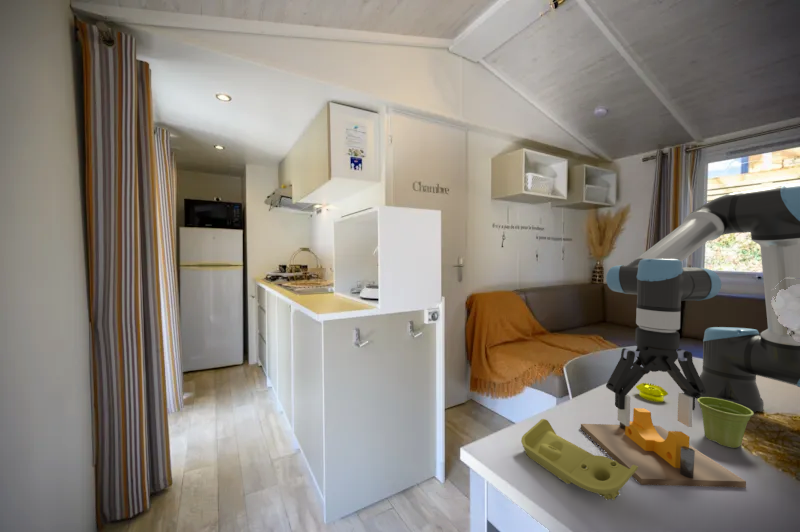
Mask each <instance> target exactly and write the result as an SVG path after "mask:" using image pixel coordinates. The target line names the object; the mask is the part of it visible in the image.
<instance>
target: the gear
mask: <svg viewBox="0 0 800 532" xmlns="http://www.w3.org/2000/svg"><path fill="white" fill-rule="evenodd" d="M635 388H636V389H637V390H638V391H639V394H638V396H639V397H640V398H643V399H645V400H647V401H649V402H650V401H651V402H656V403H663V402H664V401H665V397H666V396H667V395H669V393H668V391H667V390H665V389H664V388H663V387H661V386H660V385H657V384H652V383H649V382H648V383H647V382H641V383H639V384H636V385H635Z"/></svg>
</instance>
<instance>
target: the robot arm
mask: <svg viewBox="0 0 800 532" xmlns="http://www.w3.org/2000/svg"><path fill="white" fill-rule="evenodd" d="M736 233H743V234H744V233H745V234H746V233H750V238H751V239H750V240H751V241H752V242H754V243H756V244H758V245H759V247H760V256H761V269H762V277H763V278H762V279H763V286H764V287H763V290H764V297H765V298H764V300H765V310H766V318H767V319H766V321H767V328H766V329H765V330H762V331H761V332H759V330H758V329H754V328H746V327H729V326H728V327H726V326H719V327H718V326H713V327H707V328H706V329H705V330H704V335H703V339H702V342H703V346H702V371H701V373H700V374H699V373H698V371H697V368H696V366H695V364H694V361H693V354H692V352H691V351H688V350H685V349H681V348H680V336H681V335H680V333H679V332H678V330H680V329H681V306H682V304H681V302H683V301H696V302H697V301H698V302H699V301H703V300H709V299H712V298H714V297H715V296H717V295H718V294H719V293H720V291H721V289H722V280H721V277H720V276H719V275H718V274H717V273H716V272H715V271H714V270H711V269H708V268H705V267H699V266H698V267H697V266H696V267H694V266H692V267H691V266H690V267H683V263H682V262H683V261H684V260H686V259H687V258H688V257H689V256H691V255H692V254H693V253H694V252H696V251H697V250H698V249H699V248H701V247H703V245H704V244H706V243H707V242H710V241H714V240H717V239H718V238H720V237H722V236H724V235H729V234H736ZM789 276H790V277H796V278H800V182H797V183H786V184H781V185H773V186H769V187H768V186H767V187H764V188H763V187H761V188H756V189H749V190H743V191H741V190H740V191H735V192H731V193H727V194H724V195H722V196H719V197H717V198H714V199H712V200H710V201H708V202H706V203H704V204H703V205H701V206H699V207H698V208H696V209H695V210H693V211H691V212H690V213H689V214H688V215H686V216H685V217H684V219H683V221H682V223H681V224H680V225H679V226H677V227H676V228H675V229H674V230H672V231H671V232H670V233H668V234H667V235H666V236H664V237H663V238H662V239H660V240H659V241H658V242H656V243H655V244H654V245H653V246H651V247H650V248H649V249H647V250H646V251H644V252H643V253H642V254H640V255H639V256H638V257H637V258H636V259H634V260H633V261H631V262H630V263H629V264H626V265H623V264H620V265H614V266H611V267H610V269H608V271H607V272H606V276H605V278H606V279H605V283H606V284H607V285H606V286H607V287H608V288H609V290H611V291H612V292H616V293H622V294H625V295H636V297H637V298H636V312H635V313H636V318H635V324H636V325H637V327H635V340H634V341H635V343H636V349H635V350H630V349H628V348H625V347H624V348H622V349H621V353H620V354H621V355H620V358H619V360H618V362H617V364H616V366H615V367H614V370H613V372H612V374H611V375H610V377H609V379H608V381H607V382H606V385H605V387H606V388H607V389H608V390H610V391H611V392H613V393H614V395H615V396H614V406H615V407H616V408H617V420H618V421H619V423H620V422H621V423H622V424H624V425H625V426H630V421H631V420H630V419H631V396H630V395H628V393H629V392H630V391H632V390H633V389H634V388H635V387H636V386H637V385H638V383H639V381H640V380H642V378H643V377H644V376H645V375H648V374H650V372H653V373H656V372H661V373H662V372H663V373H664V372H665V373H667V374H668V375H669V376H670V377H671V378H672V380H673V382H675V383H676V384H677V386H678V388H680V389H681V390H682V391H681V392H680V391H678V395H677V400H678V401H677V422H679V423H681V424H683V425H684V426H686V427H688V428H692V427H693V411H695V409H696V399H698V398H700V397H711V398H718V399H723V400H727V401H731V402H734V403H737V404H740V405H742V406H745V407H747V408H749V409H750V410H752V411H753V413H756V411H760V412H763V410H764V405H765V404H764V399H762V397H761V394H760V389H759V387H758V385H757V377H761V378H762V377H763V378H766V379H769V380H774V381H777V382H781V383H785V384H789V385H792V386H797V387H799V388H800V343H798V342H796V341H794V340H793V338H792V337H791V336H790V335H787V334H786V333H787V328H786V327H784V326H782V325H781V324H780V323H779V322H778V320H777V316H776V315H775V313H774V311H773V309H772V306H771V303H770V302H771V299H772V297H773V295H774V297H775V298H774V297H773V298H774V300H775V299H776V296H777V293H778V292H779V290H781V289H784V290H786V289H788V287H790V286H792V285H796V284H800V279H796V278H795V279H796V280H795V279H784V278H785V277H789ZM783 279H784V280H783ZM781 280H782V281H781ZM780 281H781V282H780ZM778 283H779V284H778ZM777 284H778V285H777ZM776 285H777V286H776ZM775 286H776V287H775ZM773 287H775V288H776V289H775V288H774V290H772V291H770V289H772V288H773ZM775 302H776V300H775ZM779 316H780V315H779ZM789 334H790V333H789ZM791 334H793V332H791ZM676 361H678V364H679V366H680V368H681V369H680V368H679V367H678V366H677V364H676V363H675V362H676ZM681 370H682V372H683V373H682V372H681Z"/></svg>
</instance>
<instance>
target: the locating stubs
mask: <svg viewBox="0 0 800 532" xmlns="http://www.w3.org/2000/svg"><path fill="white" fill-rule="evenodd" d="M619 425H620V426H619V427H620V428H621V429H624V430H625V425H624V424H622V423H621V422H620V421H619ZM694 458H695V451H694V450H693V449H691V448H689V447H685V446H682V447H681V456H680V474H681V475H683V476H685V477H688V478H693V477H694Z"/></svg>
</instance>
